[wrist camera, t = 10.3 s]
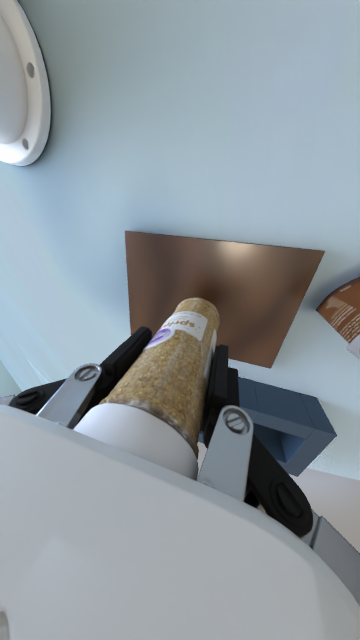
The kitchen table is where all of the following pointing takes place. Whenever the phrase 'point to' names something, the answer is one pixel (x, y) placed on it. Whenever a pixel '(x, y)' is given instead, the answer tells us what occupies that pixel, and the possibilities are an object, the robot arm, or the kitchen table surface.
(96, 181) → the kitchen table surface
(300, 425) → the dark grey cinder block
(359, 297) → the food container
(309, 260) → the board
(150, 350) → the sprinkles bottle
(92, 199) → the kitchen table surface
